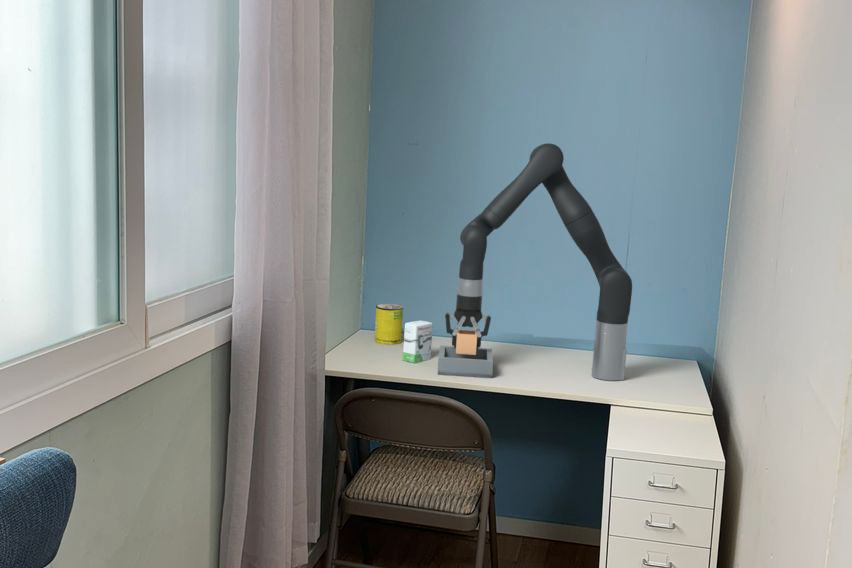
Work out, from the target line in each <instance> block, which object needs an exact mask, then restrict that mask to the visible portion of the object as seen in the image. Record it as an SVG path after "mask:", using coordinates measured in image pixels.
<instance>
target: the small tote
mask: <svg viewBox="0 0 852 568" xmlns="http://www.w3.org/2000/svg"><path fill="white" fill-rule="evenodd" d="M476 345H477V334H476V331H475V330H470V329H469V330H468V329H459V331H458V333H457V341H456V354H469V355H476Z"/></svg>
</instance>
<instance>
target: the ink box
mask: <svg viewBox="0 0 852 568" xmlns="http://www.w3.org/2000/svg"><path fill="white" fill-rule="evenodd" d="M433 326H434V324H433V322H430V321H426V320H422V319H421V320H415V321H409V322H405V324H404V334H403V350H402V351H403V353H402V361H405V362H409V363H412V364H416V363H421V362H424V361H428V360H431V359H432V344H433V343H432V341H433Z"/></svg>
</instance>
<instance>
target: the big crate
mask: <svg viewBox="0 0 852 568" xmlns="http://www.w3.org/2000/svg"><path fill="white" fill-rule="evenodd" d="M437 359H438V361H437V376H438V375H439V376H449V377H450V376H452V377H465V378H467V377H469V378H484V379H492V378H493V371H494V370H493V369H494V368H493V367H494V358H493V349H492V348H486V347H480V348H478V349H476V355H469V354H456V348H454V346H452V345H440V346H439V352H438V358H437Z"/></svg>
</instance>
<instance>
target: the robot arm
mask: <svg viewBox="0 0 852 568" xmlns="http://www.w3.org/2000/svg"><path fill="white" fill-rule="evenodd" d="M564 159H565V158H564V153H563V150H562V149H561V147H559V146H558V145H556V144H554V143H549V142H547V143H543V144H540V145H538V146H536V147H535V148H534V149H533V150H531V153H530V155H529V161H528V163H527V164H526V166H524V168H523V170H522V171H521V172H520V173H519V174H518V176H516V177H515V178H514V179H513V180H512V181H511V182H510V183H509V184H508V185H507V186H505V188H504V189H502V191H500V192H499V193H498V194H497V195H496V196H495V197H494V198H493V199H492V200H491V201H490V202H489V204H488V205H487V206H486V207H485V208H484V209H483V211H482V212H481V213H479V214H478V215H477V216H476V217H474V218H473V219H472V220H471V221H470V222H469V223H468V224H467V225H466V226H465V227H464V228H463V229H462V230H461V233H460V235H459V236H460V237H459V239H460V243H461V244H462V247H463V250H462V259H461V261H460V264H459V274H458V281H457V289H456V304H455V305H456V306H455V311H454V312H448V311H447V312H445V328H446V329H445V330H446V334H450V335H451V337H452V338H451V339H452V340H451V346H454V348H456V341H457V333H458V331H459V330H461V327H464V328H466V327H468V328H473V330H474V331H476V334H477V345H476V349H478V348H481V345H482V337H487V336H488V334H489V329H490V325H491V320H492V316H491V314H488V315H487V314H483V313H482V306H483V305H482V304H483V303H482V302H483V293H484V291H483V287H484V285H483V283H484V282H483V275H484V261H485V257H486V254H487V247H488V240H487V239H488V238H487V237H488V236H489V235H490V234H492V233H493V231H494V230H497V229H499V228H500V227H502V226H503V225H504V224H505V222H507V221H508V220H509V218H510V217H511V216H512V215H513V214H514V213H515V211H517V209H518V208H519V207H520V206H521V205H522V204H523V203H524V201H525V200H526V199H527V198H528V196H530V195H531V193H532V192H533V191H534V190H536V189H537V188H538V187H539V186H540V185H541V184H542V185H543V187H544V188H545V189H546V191H547V192H548V194H549V195H550V198H551V200H552V203H553V204H554V207H555V209H556V211H557V213H558V216H559V217H560V219H561V221H562V224H563V225H564V227H565V228H566V231H567V232H568V234H569V235H570V237H571V239H572V240H573V242H574V243H575V245H576V246H577V247H578V248H579V250H580V251H581V252H582V253H581V254H583V255H584V256H585V258H586V259H587V260H588V262H589V265H590V266H591V268H592V272H594V275H595V278H596V280H597V282H598V286H599V297H598V306H597V312H596V321H595V331H594V343H593V355H592V366H591V367H592V368H591V376H592V378H595V379H598V380H603V381H613V382H614V381H625V373H626V371H625V370H626V361H627V352H628V351H627V348H626V344H627V343H626V342H627V334H628V322H629V316H630V311H631V303H632V302H631V301H632V295H633V281H632V278H631V276H630V275H629V273H628V272H627V271H626V270H625V268H623V266H622V265H621V263H620V261H618V259H617V258H616V256H615V254H614V253H613V251H612V250H611V248H610V246H609V244H608V241H607V238H606V235H605V233H604V230H603V229H602V225H601V224H600V222H599V220H598V218H597V216H596V214H595V212H594V211H593V209H592V207H591V206H590V204H589V203H588V201H587V200H586V199H585V198H584V197H583V195H582V194H581V193H580V192H579V190H577V188H576V187H575V186H574V184H573V183H572V182H571V180H570V178H569V176H568V174H567V172H566V170H565V167H564V166H563V164H564ZM453 318H455V319H456V324H455V327H454V328H453V329H452V328H451V321H452V320H453ZM481 320H483V323H484V326H483V327H484V329H483V330H482V331H481V330H480V327H479V322H480V321H481Z"/></svg>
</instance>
